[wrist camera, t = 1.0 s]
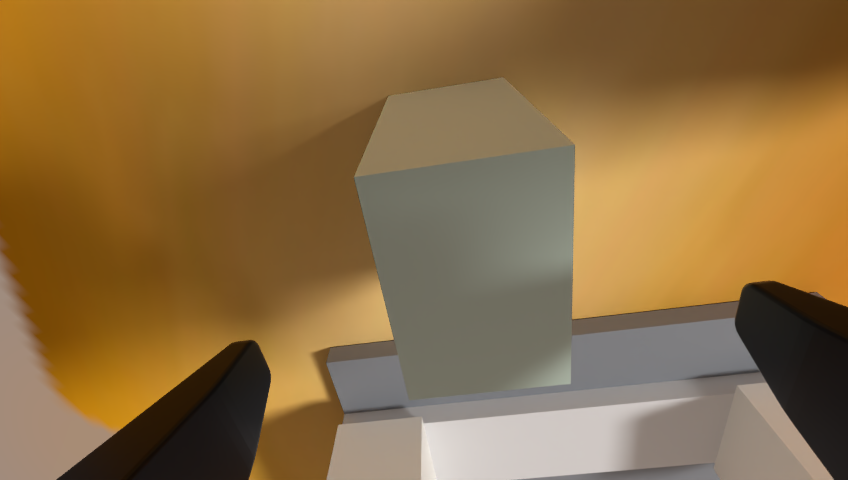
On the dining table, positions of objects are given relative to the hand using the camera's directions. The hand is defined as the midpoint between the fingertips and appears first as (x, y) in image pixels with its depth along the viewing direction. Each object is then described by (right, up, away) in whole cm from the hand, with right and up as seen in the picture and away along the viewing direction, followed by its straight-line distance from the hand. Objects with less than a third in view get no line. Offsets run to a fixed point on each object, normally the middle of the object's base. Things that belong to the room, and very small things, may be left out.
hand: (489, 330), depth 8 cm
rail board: (+6, -7, +14) cm, 17 cm away
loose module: (0, +4, +8) cm, 9 cm away
